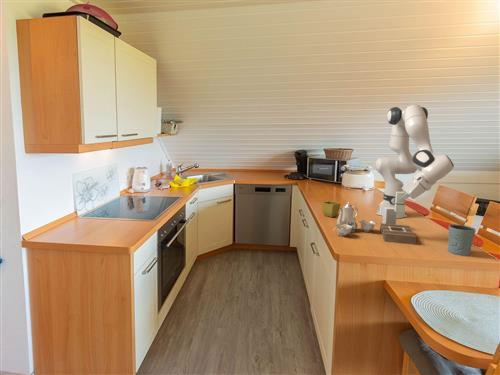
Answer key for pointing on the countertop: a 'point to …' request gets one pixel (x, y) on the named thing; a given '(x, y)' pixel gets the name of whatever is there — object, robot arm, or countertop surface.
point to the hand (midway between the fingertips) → (398, 199)
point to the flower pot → (330, 208)
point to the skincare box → (389, 215)
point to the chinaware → (351, 221)
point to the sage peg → (399, 202)
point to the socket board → (397, 233)
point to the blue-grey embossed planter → (460, 239)
